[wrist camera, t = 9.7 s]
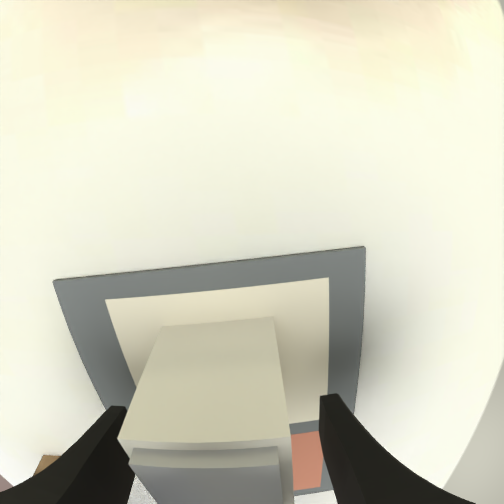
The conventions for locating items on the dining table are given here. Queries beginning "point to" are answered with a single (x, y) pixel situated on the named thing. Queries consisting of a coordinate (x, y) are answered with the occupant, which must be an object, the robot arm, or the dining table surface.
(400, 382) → the dining table surface
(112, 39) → the dining table surface
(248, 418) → the cream and grey box
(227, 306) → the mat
